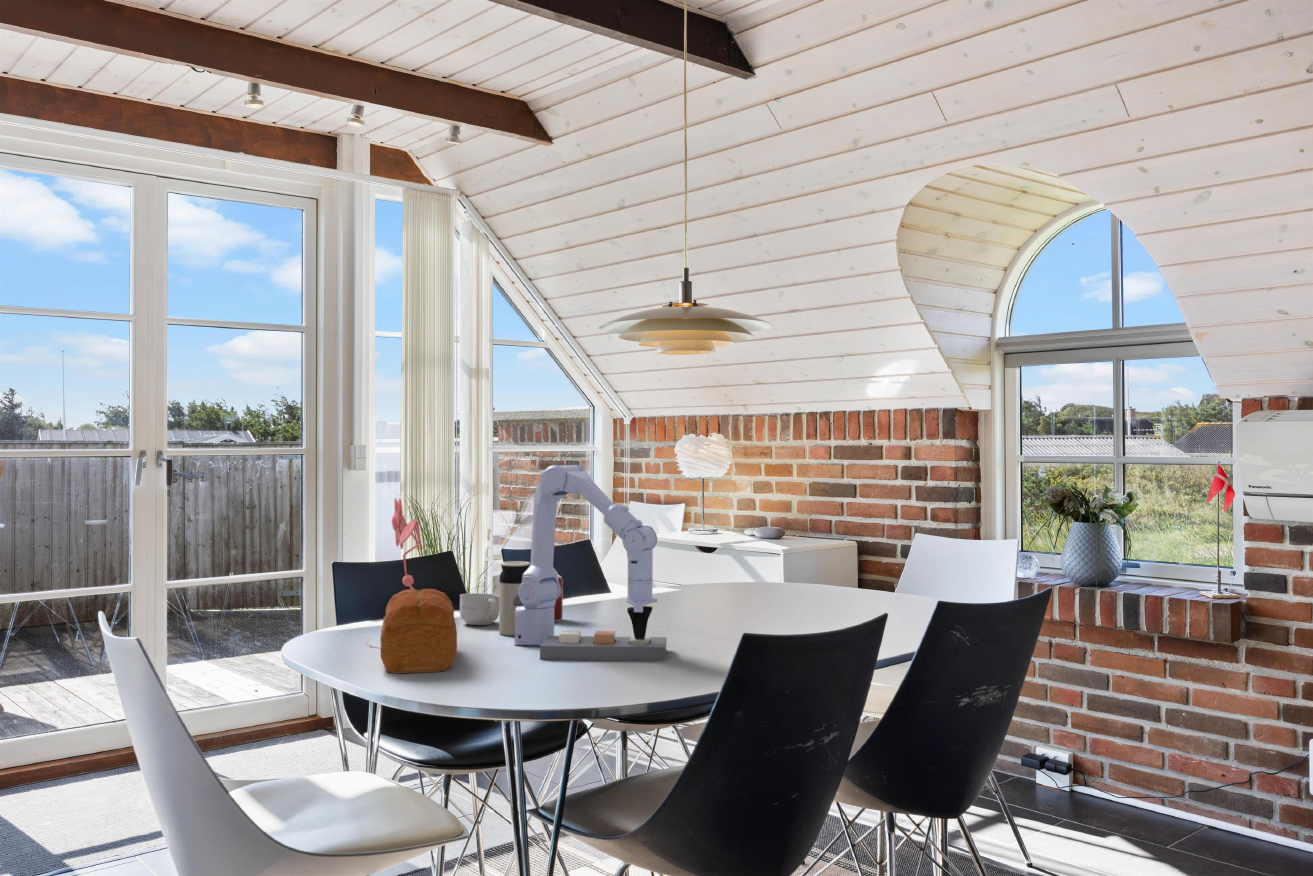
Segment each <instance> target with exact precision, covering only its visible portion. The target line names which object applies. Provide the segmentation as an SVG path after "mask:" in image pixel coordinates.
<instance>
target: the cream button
mask: <svg viewBox="0 0 1313 876" xmlns="http://www.w3.org/2000/svg"><path fill="white" fill-rule="evenodd" d="M581 633H582V631H581V630H561V631H560V632H559V635H558V636H559V643H580V642H581V636H582V635H581Z"/></svg>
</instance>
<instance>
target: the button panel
mask: <svg viewBox="0 0 1313 876" xmlns="http://www.w3.org/2000/svg"><path fill="white" fill-rule="evenodd" d="M630 637H631V636H615V644H597V643H594V635H593V636H591V635H590V636H589V635H588V636H586V635H585V636H583V635H581V642H580V643H559V635H554V636H547V637H546V639H545V640H544V641H543V643H542V644H541V645H539V660H551V661H552V660H555V661H556V660H567V661H639V662H640V661H642V662H643V661H645V662H647V661H650V662H654V661H656V662H658V661H660V662H662V661H663V662H665V661H666V659H667V637H666V636H665V637H664V636H649V637H650V644H630Z"/></svg>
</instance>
